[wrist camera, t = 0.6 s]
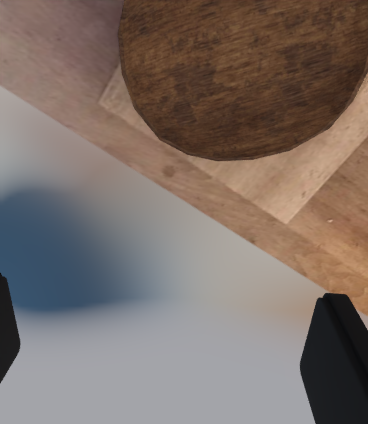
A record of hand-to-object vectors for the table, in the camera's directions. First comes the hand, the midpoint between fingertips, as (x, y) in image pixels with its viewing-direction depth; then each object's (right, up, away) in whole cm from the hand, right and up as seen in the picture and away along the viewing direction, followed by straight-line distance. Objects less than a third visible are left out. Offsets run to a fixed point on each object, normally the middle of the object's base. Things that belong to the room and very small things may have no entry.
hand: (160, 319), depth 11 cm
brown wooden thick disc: (+6, +19, +24) cm, 32 cm away
